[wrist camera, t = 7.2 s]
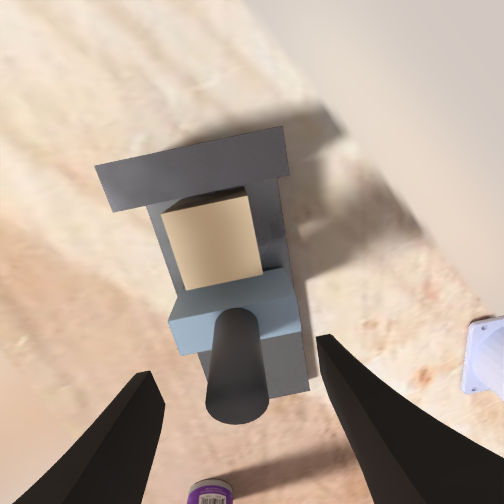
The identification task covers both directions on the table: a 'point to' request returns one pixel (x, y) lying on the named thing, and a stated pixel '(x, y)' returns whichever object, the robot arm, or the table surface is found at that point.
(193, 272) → the block
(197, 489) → the container
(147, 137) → the table surface
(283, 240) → the base
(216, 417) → the sliding jaw
